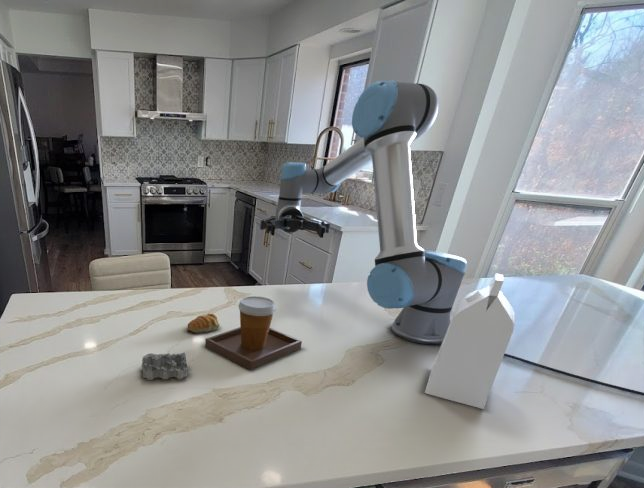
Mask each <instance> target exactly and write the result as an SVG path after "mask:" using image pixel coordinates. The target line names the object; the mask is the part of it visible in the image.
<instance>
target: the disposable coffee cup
mask: <svg viewBox="0 0 644 488" xmlns="http://www.w3.org/2000/svg"><path fill="white" fill-rule="evenodd" d="M237 307H238V310H239V320H240V321H239V323H240V327H241V345H242V346H243V347H245V348H247V349H252V350H258V349H262V348H264V347H265V343H266V339H267V335H268V332H269V328H271V324H272V321H273V320H272V319H273V316H274V313H275V312H276V310H277V307H276V304H275V301H274V300H273V299H271V298H269V297H265V296H259V295H252V296H251V295H249V296H244V297H242V298H241V299H240V301H239V303H238V304H237Z"/></svg>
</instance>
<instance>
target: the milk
mask: <svg viewBox="0 0 644 488" xmlns="http://www.w3.org/2000/svg"><path fill="white" fill-rule="evenodd" d="M503 284H504V274H502V273H494V276H493V278H492V280H491V282H490V284H489V285H488V286H487V285H486V286H485V287H483V288H481V289H475V290H474V291H471V292H470V293H467V294H466V295H465V296H464V297H463V298H461V299H460V300H458V302H457V304H456V307H455V310H454V312H453V314H452V316H451V318H450V324H449V327H448V330H447V332H446V335H445V337H444V340H443V342H442V344H440V347H439V351H438V352H437V355H436V358H435V360H434V363H433V365H432V368H431V370H430V373H429V377H428V380H427V382H426V383H427V384H426V387H425V390H424V394H426V395H430V396H433V397H437V398H441V399H445V400H448V401H452V402H456V403H459V404H463V405H467V406H470V407H473V408H478V409H480V410H481V409H482V410H484V409H485V406H486V403H487V400H488V398H489V396H490V393H491V390H492V388H493V385H494V382H495V380H496V377H497V375H498V373H499V369H500V368H501V367H500V366H501V364H502V362H503V359H504V357H505V356H504V354H506V351H507V348H508V346H509V343H510V342H511V341H510V340H511V338H512V336H513V333H514V330H515V326H516V318H515V310H514V308H513V307H512V305H511V303H510V302H509V301H508V300H509V299H507V297H506V296H505V295H504V293H503V292H502V290H501V288H502V286H503Z"/></svg>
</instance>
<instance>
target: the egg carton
mask: <svg viewBox="0 0 644 488" xmlns="http://www.w3.org/2000/svg"><path fill="white" fill-rule="evenodd" d="M141 369H142V375H143V376H142V378H143V379H147V380H148V381H153V380H155V379H156V378H157V379H158V378H159V379H162V380H169V379H170V378H175V379H177V380H182V379H183V378H185V377H187V375H188V373H187V371H188V369H189V368H188V361H187V354H186V352H181V353H177V354H175V353H172V354H170V353H169V352H168V353H159V354H158V353H157V354H156V353H152V352H151V353H147V354H145V355H143V356H142V359H141Z"/></svg>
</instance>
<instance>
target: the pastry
mask: <svg viewBox="0 0 644 488" xmlns="http://www.w3.org/2000/svg"><path fill="white" fill-rule="evenodd" d="M220 325H221V324H220V322H219V319H218V316H217V315H215V314H214V313H207V314H202V315H199V316H197V317H195V318H194V319H192V320H191V321H189V322H188V323H187V328H186V329H187V330H188V331H190V332H193V333H196V334H201V333H208V332H209V333H210V332H213V331H217V330H218V329H219V328H220Z"/></svg>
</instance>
